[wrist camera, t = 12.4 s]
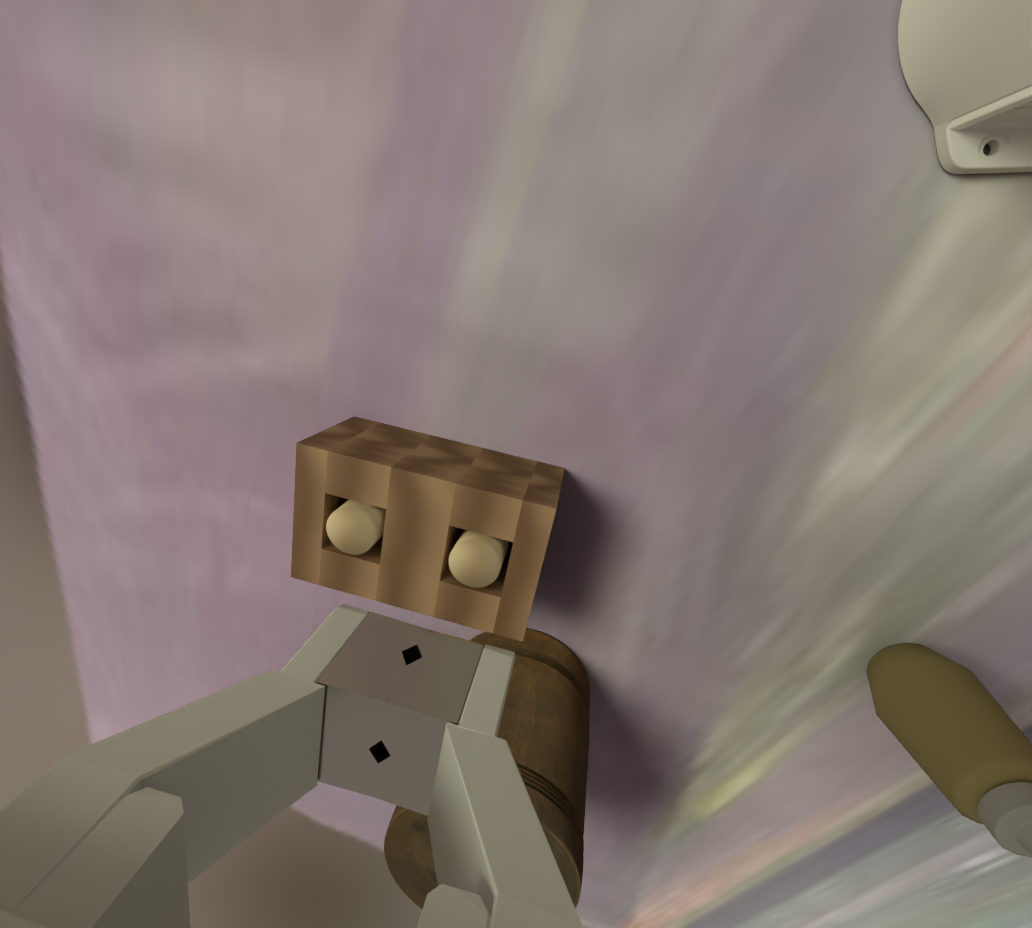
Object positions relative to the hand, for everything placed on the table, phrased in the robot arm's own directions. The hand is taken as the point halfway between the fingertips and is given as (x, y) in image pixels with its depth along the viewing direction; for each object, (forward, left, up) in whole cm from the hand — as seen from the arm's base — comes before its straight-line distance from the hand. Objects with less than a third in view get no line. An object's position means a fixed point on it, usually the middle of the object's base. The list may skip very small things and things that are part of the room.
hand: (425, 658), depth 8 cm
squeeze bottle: (-36, +19, -34) cm, 53 cm away
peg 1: (+13, +14, -33) cm, 38 cm away
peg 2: (+3, +14, -33) cm, 36 cm away
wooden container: (-3, +33, -34) cm, 48 cm away
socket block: (+8, +14, -34) cm, 38 cm away
